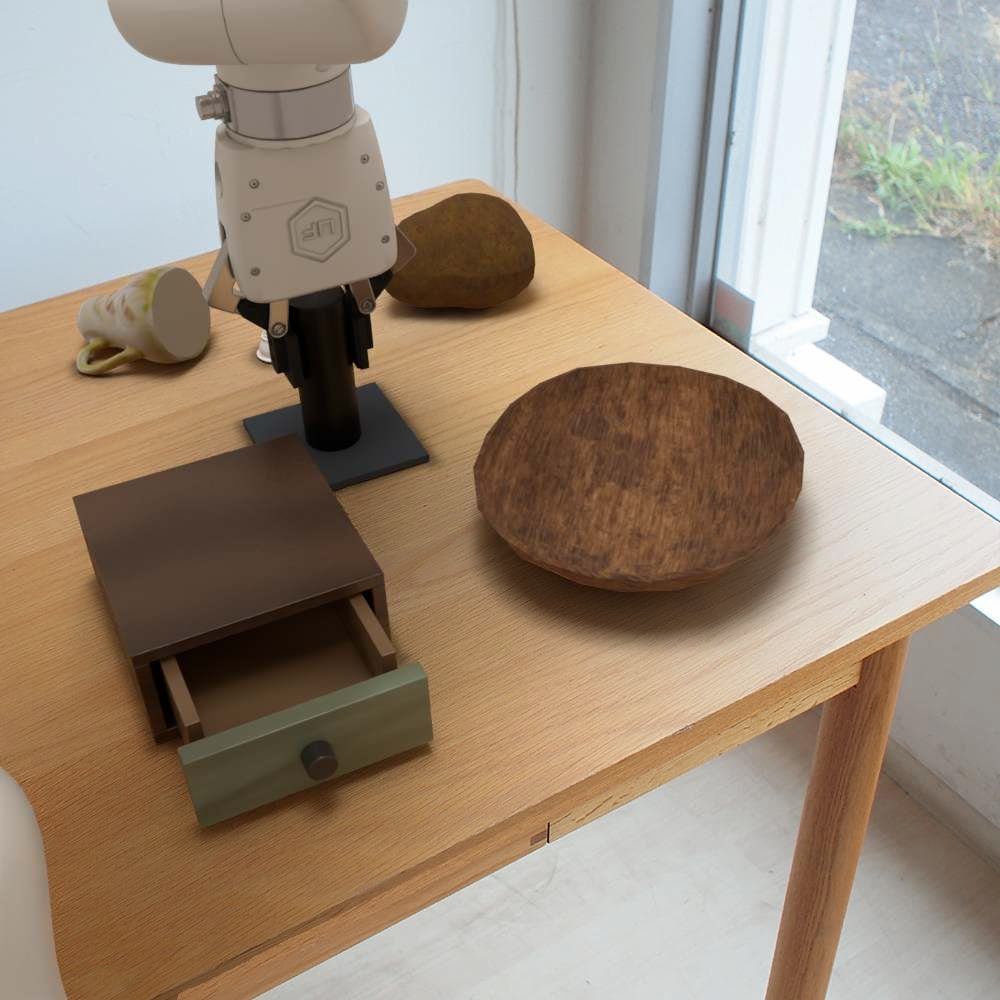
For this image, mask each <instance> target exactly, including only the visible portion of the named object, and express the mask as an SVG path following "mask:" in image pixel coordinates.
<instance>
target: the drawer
mask: <svg viewBox="0 0 1000 1000" xmlns="http://www.w3.org/2000/svg"><path fill="white" fill-rule="evenodd" d="M153 662H154V665H155V668H156V670H157V673H158V675H159V678H160V681H161V683H162V686H163V688H164V691H165V694H166V696H167V699H168V701H169V704H170V707H171V709H172V712H173V714H174V717H175V720H176V722H177V725H178V727H179V730H180V733H181V735H182V736H181V738H182V740H183V743H184V745H181V746H179V747H177V754H178V756H179V760H180V763H181V768H182V772H183V776H184V778H185V782H186V785H187V789H188V793H189V797H190V800H191V803H192V807H193V811H194V814H195V818H196V819H197V822H198V824H199V828H201V829H204V828H208V827H210V826H212V825H216V824H218V823H221V822H223V821H225V820H228V819H231V818H233V817H236V816H239V815H241V814H244V813H247V812H249V811H252V810H254V809H257V808H259V807H260V808H261V807H263V806H264V805H267V804H270V803H273V802H276V801H279V800H281V799H283V798H286V797H289V796H292V795H294V794H296V793H299V792H302V791H305V790H307V789H309V788H312V787H315V786H317V785H320V784H322V783H325V782H328V781H330V780H333V779H336V778H339V777H342V776H344V775H346V774H349V773H351V772H353V771H356V770H359V769H362V768H364V767H367V766H369V765H370V766H371V765H373V764H375V763H377V762H380V761H383V760H385V759H388V758H390V757H393V756H396V755H398V754H401V753H404V752H406V751H409V750H411V749H415V748H417V747H420V746H422V745H424V744H425V745H426V744H428V743H430V742H433V741H434V738H435V737H434V729H433V719H432V708H431V698H430V696H431V695H430V686H429V675H428V674H427V672H426V671H425V669H424V667H423V665H422V664H421V662H420V661H415V662H413V663H409V664H407V665H404V666H402V667H399V665H398V656H397V650H396V649H395V647H394V646H393V643H392V644H391V642H390V641H389V639H388V637H387V635H386V634H385V632H384V630H383V629H382V627H381V625H380V624H379V622H378V620H377V619H376V617H375V615H374V614H373V612H372V610H371V609H370V607H369V605H368V604H367V602H366V600H365V598H364V597H363V595H362V593H361V592H358V593H356V594H353V595H350V596H347V597H344V598H341V599H338V600H335V601H332V602H329V603H326V604H323V605H320V606H317V607H314V608H311V609H308V610H305V611H302V612H299V613H296V614H293V615H290V616H287V617H284V618H281V619H278V620H275V621H272V622H269V623H266V624H263V625H260V626H257V627H254V628H251V629H248V630H245V631H242V632H239V633H236V634H233V635H230V636H227V637H224V638H221V639H218V640H215V641H212V642H210V643H207V644H204V645H201V646H198V647H195V648H192V649H189V650H186V651H183V652H180V653H177V654H174V655H171V656H168V657H165V658H162V659H159V660H156V661H153Z"/></svg>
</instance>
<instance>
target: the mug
mask: <svg viewBox="0 0 1000 1000" xmlns="http://www.w3.org/2000/svg"><path fill="white" fill-rule="evenodd" d="M202 290H203V287H202V286H201V284H200V282H199V281H198V280H197V278H195V276H194V275H193V274H191V273H190V272H189V271H188V270H187V269H185V268H182V267H178V266H159V267H154V268H151V269H148V270H146V271H143V272H142V273H139V274H137V275H136V276H134V277H132V278H131V279H130V280H129V281H127V282H126V283H124V284H123V285H122V286H120V287H119V288H117V289H116V290H115V291H113V292H110V293H106V294H101V295H96V296H90V297H89V298H87V299H86V300H84V301H83V303H81V305H80V307H79V311H78V313H77V316H76V324H77V328H78V330H79V333H80V335H81V337H82V338H83V339H84V340H85V342H87V343H88V344H87V346H85V347H83V348H82V349H81V350H80V352H79V353H78V354H77V357H76V369H77V370H78V371H79V372H80V373H81V374H85V375H92V376H96V375H100V374H104V373H106V372H109V371H111V370H113V369H116V368H118V367H120V366H123V365H126V364H128V363H131V362H134V361H137V360H138V361H139V360H141V359H145V360H147V361H149V362H154V363H159V364H177V363H182V362H184V361H187V360H192V359H195V358H197V357H199V356H200V354H201V353H202V352H203V351H204V349H205V347H206V345H207V343H208V341H209V338H210V333H211V326H212V325H211V323H212V321H211V307H210V306H209V305H208V304H207V302H206V301H205V299H204V297H203V296H202ZM105 348H119V349H122V350H123V351H121V352H119V353H116V354H115V355H113V356H112V357H110V358H108V359H106V360H104V361H102V362H100V363H96V364H88V363H89V359H90V357H91V356H92V354H93V353H95V352H96V351H98V350H102V349H105Z"/></svg>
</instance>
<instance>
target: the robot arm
mask: <svg viewBox="0 0 1000 1000" xmlns="http://www.w3.org/2000/svg"><path fill="white" fill-rule="evenodd" d="M107 6H108V11H109V14H110V16H111V19H112V21H113V24H114V25H115V27H116V29H117V31H118V32H119V34H120V35H121V37H122V38H123V39H124V41H125V42H126V43H127V44H128V45H129V46H130V47H131V48H132V49H134V50H135V51H136V52H137V53H139V54H141V55H142V56H143V57H145V58H148V59H151V60H154V61H157V62H159V63H164V64H171V65H177V66H215V70H216V73H213V78H214V79H213V80H214V84H212V90H209V91H207V93H206V94H202V95H197V96H195V97H194V103H195V107H196V112H197V114H198V117H199V119H200V121H207V120H212V119H213V120H214V121H219V120H220V121H221V123H219V124H218V125H217V126H216V129H215V139H214V187H215V188H214V189H215V202H216V213H217V214H216V216H217V224H218V233H219V234H218V235H219V240H220V241H219V242H220V249H219V251H218V253H217V256H216V258H215V261H214V263H213V265H212V267H211V269H210V271H209V274H208V277H207V279H206V280H205V284H204V286H203V287H202V289H203V290H202V296H203V297H204V299H205V301H206V302H207V304H208V305H209V306H210V309H211V308H212V309H215V310H218V311H220V312H221V311H222V312H225V313H229V314H231V315H234V314H235V315H238V316H240V317H242V318H243V319H244V320H246V321H249V323H252V324H253V325H256V326H257V327H259V328H260V329H263V331H264V330H266V333H267V339H268V345H269V351H270V357H271V362H272V363H271V365H272V368H273V370H274V371H275V373H276V374H277V375H281V374H284V376H285V378H286V379H287V380H288V383H290V385H291V387H292V388H293V389H294V390H296V389H298V388H300V387H302V385H303V384H304V376H303V369H302V363H301V356H300V349H299V342H298V337H297V335H296V333H295V332H294V330H293V329H292V327H291V326H290V322H289V321H288V316H289V299H291V298H295V297H299V296H303V295H307V294H311V293H315V292H319V291H323V290H327V289H331V288H334V287H338V286H341V287H342V288H343V290H344V292H345V300H346V308H347V317H348V325H349V334H350V342H351V350H352V359H353V366H355V367H356V369H357V370H360V371H363V370H368V369H370V359H369V350H372V349H374V337H373V328H372V326H373V325H372V318H371V314H372V313H374V312H375V310H376V308H377V299H378V298H379V297H380V295H381V294H382V293H383V292H384V290H385V287H386V286H387V285H388V283H389V282H390V281H391V279H392V277H393V274H394V273H395V272H398V271H399V270H400V269H401V268H402V267H403V266H404V265H405V264H407V263H408V262H409V261H410V260H411V259H412V258H413V257H414V256H415V255H416V247H415V246H414V245H413V244H412V243H411V241H410V240H409V239H408V238H407V237H406V236H405V235H404V234H403V232H402V231H401V230H400V229H399V228H398V227H397V226H398V225H397V224H396V223H395V218H394V211H393V206H392V200H391V195H390V194H391V193H390V189H389V185H388V179H387V175H386V170H385V169H386V168H385V165H384V160H383V157H382V152H381V148H380V144H379V141H378V137H377V132H376V129H375V127H374V124H373V120H372V118H371V114H370V112H368V111H367V110H366V109H365V108H363V107H361V106H360V105H359V104H357V103H356V102H355V96H354V85H353V76H352V75H353V74H352V67H351V65H360V64H365V63H369V62H372V61H374V60H377V59H379V58H381V57H383V56H384V55H385V54H386V53H388V52H389V51H390V50H391V49H392V48H393V46H394V45H395V44H396V42H398V39H399V37H400V35H401V33H402V31H403V28H404V25H405V22H406V18H407V13H408V8H409V7H408V6H409V0H107ZM235 284H237V287H238V289H239V290H238V289H236V288H235V287H234V286H235ZM38 823H39V822H38V820H37V817H36V814H35V810H34V808H33V806H32V803H31V802H30V800H29V797H28V796H27V794H26V793H25V791H24V789H23V788H22V787H21V785H20V784H19V782H17V781H16V779H15V778H14V777H13V776H12V775H11V774H10V773H9V772H8V771H7V770H6V769H5V768H4V767H2V766H1V765H0V1000H68V997H67V993H66V991H65V987H64V984H63V980H62V977H61V972H60V968H59V962H58V958H57V952H56V951H57V950H56V943H55V935H54V928H53V919H52V908H51V896H50V895H51V894H50V886H49V876H48V866H47V859H46V852H45V848H44V846H45V845H44V840H43V836H42V832H41V830H40V827H39V824H38Z"/></svg>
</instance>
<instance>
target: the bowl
mask: <svg viewBox="0 0 1000 1000" xmlns="http://www.w3.org/2000/svg"><path fill="white" fill-rule="evenodd" d="M805 454H806V453H805V450H804V448H803V445H802V443H801V440H800V438H799V437H798V434H797V432H796V430H795V427H794V425H793V422H792V420H791V418H790V415H789V414H788V413H787V412H786V411H785V410H784V409H782V408H781V407H779V406H778V405H777V404H776V403H774V402H773V401H772V400H771V399H770V398H769V397H767V396H766V395H764V394H763V393H762V392H761V391H759V390H757V389H755V388H752V387H750V386H748V385H746V384H744V383H742V382H740V381H737V380H734V379H732V378H730V377H728V376H725V375H722V374H717V373H713V372H708V371H704V370H698V369H694V368H690V367H685V366H682V365H681V366H680V365H671V364H659V363H649V362H648V363H647V362H635V361H627V362H618V363H617V362H616V363H609V364H599V365H591V366H590V365H589V366H579V367H576V368H575V367H574V368H573V369H571V370H568V371H565V372H563V373H561V374H558V375H556V376H553V377H551V378H548V379H546V380H544V381H541V382H539V383H538V384H536V385H535V386H533V387H531V388H530V389H529V390H527V391H526V392H525V393H523V394H522V395H521V396H519V397H517V398H516V399H515V400H513V401H512V402H510V404H508V406H507V408H505V410H504V411H503V412H502V414H501V415H500V416H499V417H498V419H497V420H496V421H495V422H494V423H493V425H492V426H491V427H490V428H489V430H488V431H487V433H486V434H485V436H484V439H483V442H482V445H481V447H480V449H479V452H478V454H477V457H476V459H475V461H474V464H473V467H472V471H473V482H474V488H475V489H474V490H475V498H476V506H477V509H478V511H479V512H480V513H481V515H482V516H483V517H484V518H485V519H486V520H487V521H488V523H489V525H491V526H492V528H494V530H495V531H496V532H497V534H498V535H499V536H500V537H501V538H502V540H504V542H505V543H506V544H507V545H508V546H509V547H510V548H511V549H512V550H513V551H514V553H515V554H516V555H517V556H518V557H519V558H520V559H522V560H523V561H526V562H528V563H531V564H533V565H535V566H538V567H540V568H542V569H544V570H547V571H549V572H550V573H554V574H555V575H558V576H560V577H563V578H565V579H568V580H570V581H572V582H574V583H576V584H579V585H584V586H589V587H593V588H598V589H603V590H608V591H612V592H618V593H630V592H633V593H634V592H663V591H664V592H666V591H669V592H670V591H680V590H683V589H686V588H690V587H693V586H697V585H700V584H704V583H708V582H711V581H713V580H715V579H717V578H719V577H720V576H721V577H722V576H723V575H725V574H727V573H728V572H730V571H731V570H732V569H734V568H736V567H737V566H738V565H740V564H741V563H743V562H745V561H747V560H748V559H749V558H751V557H752V556H753V555H755V554H757V553H758V552H759V551H760V550H762V549H763V548H764V547H765V546H766V545H767V544H768V543H769V542H771V541H772V540H773V539H774V538H775V537H776V536H777V535H778V534H779V533H780V532H781V530H782V529H783V528H784V527H785V526H786V524H787V522H788V520H789V518H790V516H791V513H792V511H793V509H794V508H795V506H796V503H797V501H798V499H799V497H800V495H801V492H802V490H803V483H804V467H805V465H804V464H805Z"/></svg>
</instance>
